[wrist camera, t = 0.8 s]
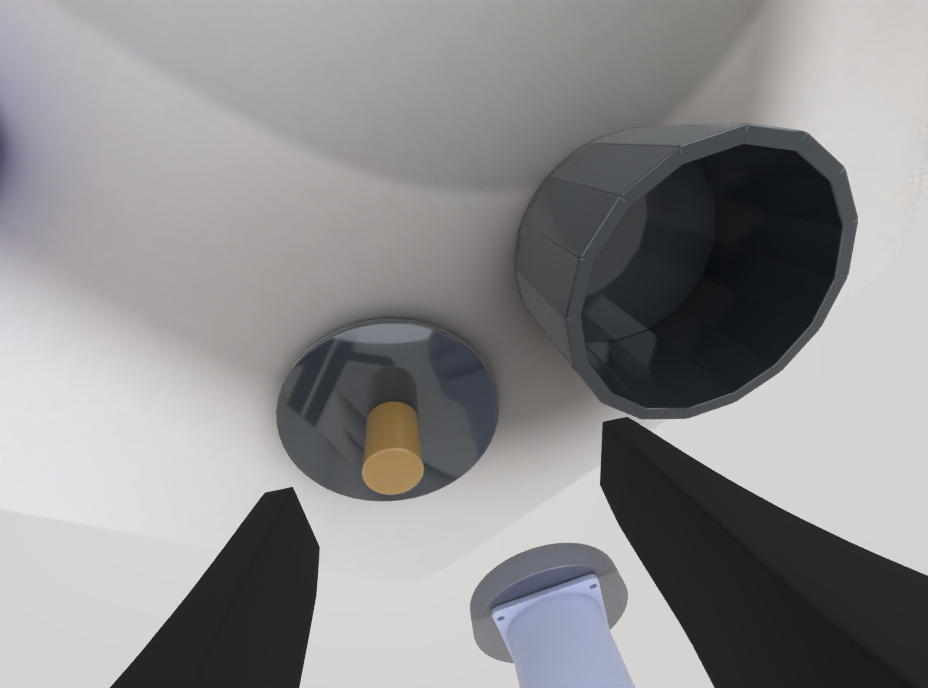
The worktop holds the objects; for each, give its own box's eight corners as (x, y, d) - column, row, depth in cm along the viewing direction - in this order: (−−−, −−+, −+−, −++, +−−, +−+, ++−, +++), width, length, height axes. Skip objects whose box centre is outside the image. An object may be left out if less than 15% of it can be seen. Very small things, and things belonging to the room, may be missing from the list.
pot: (718, 309, 20) (832, 369, 15) (538, 371, 20) (590, 452, 15) (721, 96, 16) (885, 76, 11) (490, 174, 16) (540, 192, 10)
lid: (513, 448, 22) (539, 513, 18) (338, 508, 22) (327, 586, 18) (461, 281, 17) (481, 321, 14) (238, 356, 17) (195, 418, 14)
